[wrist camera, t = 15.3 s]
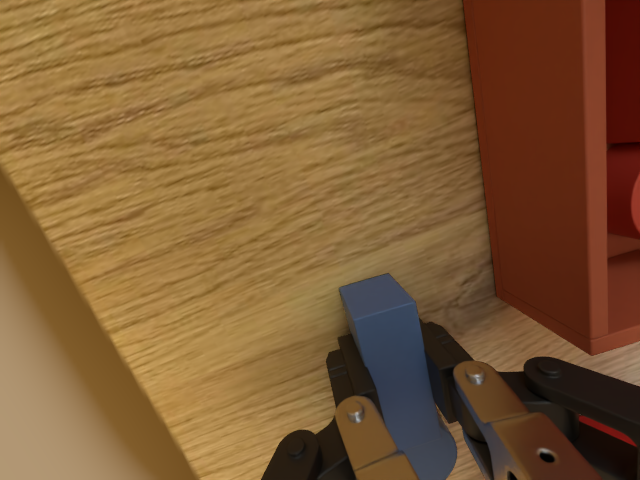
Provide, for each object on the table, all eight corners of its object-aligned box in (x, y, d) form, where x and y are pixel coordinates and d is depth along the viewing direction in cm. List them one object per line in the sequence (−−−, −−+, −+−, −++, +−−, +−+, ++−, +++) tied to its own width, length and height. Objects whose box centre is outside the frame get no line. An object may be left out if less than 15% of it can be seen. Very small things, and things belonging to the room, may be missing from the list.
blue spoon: (317, 293, 13) (327, 327, 10) (408, 266, 13) (441, 293, 10) (368, 470, 16) (386, 535, 13) (443, 446, 16) (476, 505, 13)
